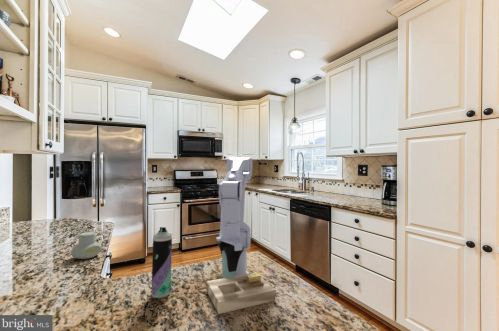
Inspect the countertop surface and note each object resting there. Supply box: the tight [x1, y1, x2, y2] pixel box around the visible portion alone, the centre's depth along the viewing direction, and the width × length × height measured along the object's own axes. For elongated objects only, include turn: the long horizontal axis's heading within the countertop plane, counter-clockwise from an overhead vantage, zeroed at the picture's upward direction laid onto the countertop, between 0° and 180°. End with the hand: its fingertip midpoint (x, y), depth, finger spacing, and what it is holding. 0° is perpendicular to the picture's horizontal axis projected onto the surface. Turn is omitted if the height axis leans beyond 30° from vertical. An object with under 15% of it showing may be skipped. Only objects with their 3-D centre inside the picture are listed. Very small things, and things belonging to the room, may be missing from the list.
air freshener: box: [70, 231, 103, 260], centre depth 100 cm, size 11×8×10 cm
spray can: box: [151, 226, 173, 299], centre depth 71 cm, size 6×6×20 cm
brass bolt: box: [246, 272, 262, 285], centre depth 71 cm, size 2×4×2 cm, turn 114°
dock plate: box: [206, 271, 276, 315], centre depth 70 cm, size 13×17×4 cm
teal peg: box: [221, 250, 236, 279], centre depth 68 cm, size 4×4×7 cm
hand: (229, 268), depth 68 cm, fingers closed on teal peg, 4 cm apart
